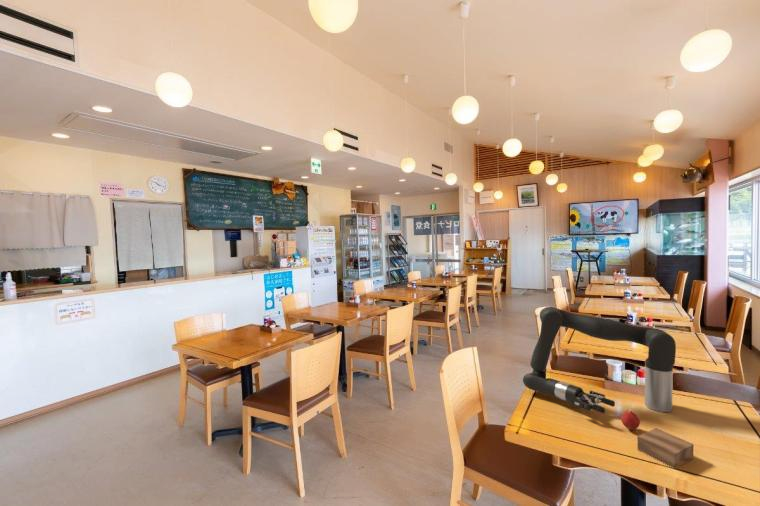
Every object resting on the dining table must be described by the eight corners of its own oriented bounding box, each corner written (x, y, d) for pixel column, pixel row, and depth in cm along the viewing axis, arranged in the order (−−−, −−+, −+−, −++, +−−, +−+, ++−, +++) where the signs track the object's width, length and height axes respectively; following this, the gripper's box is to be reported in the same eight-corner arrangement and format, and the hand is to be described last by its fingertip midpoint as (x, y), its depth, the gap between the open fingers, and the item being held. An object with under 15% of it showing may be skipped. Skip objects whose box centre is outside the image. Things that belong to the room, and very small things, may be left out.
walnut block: (655, 441, 127) (656, 427, 127) (693, 458, 117) (693, 444, 117) (637, 450, 123) (637, 436, 122) (674, 468, 113) (674, 453, 112)
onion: (617, 426, 137) (617, 406, 137) (631, 425, 138) (631, 405, 137) (629, 434, 132) (629, 414, 131) (643, 433, 132) (643, 413, 132)
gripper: (559, 389, 149) (601, 403, 136) (577, 380, 157) (617, 393, 144) (560, 406, 150) (601, 422, 136) (577, 396, 158) (617, 410, 144)
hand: (609, 407), depth 140 cm, fingers open, 8 cm apart
